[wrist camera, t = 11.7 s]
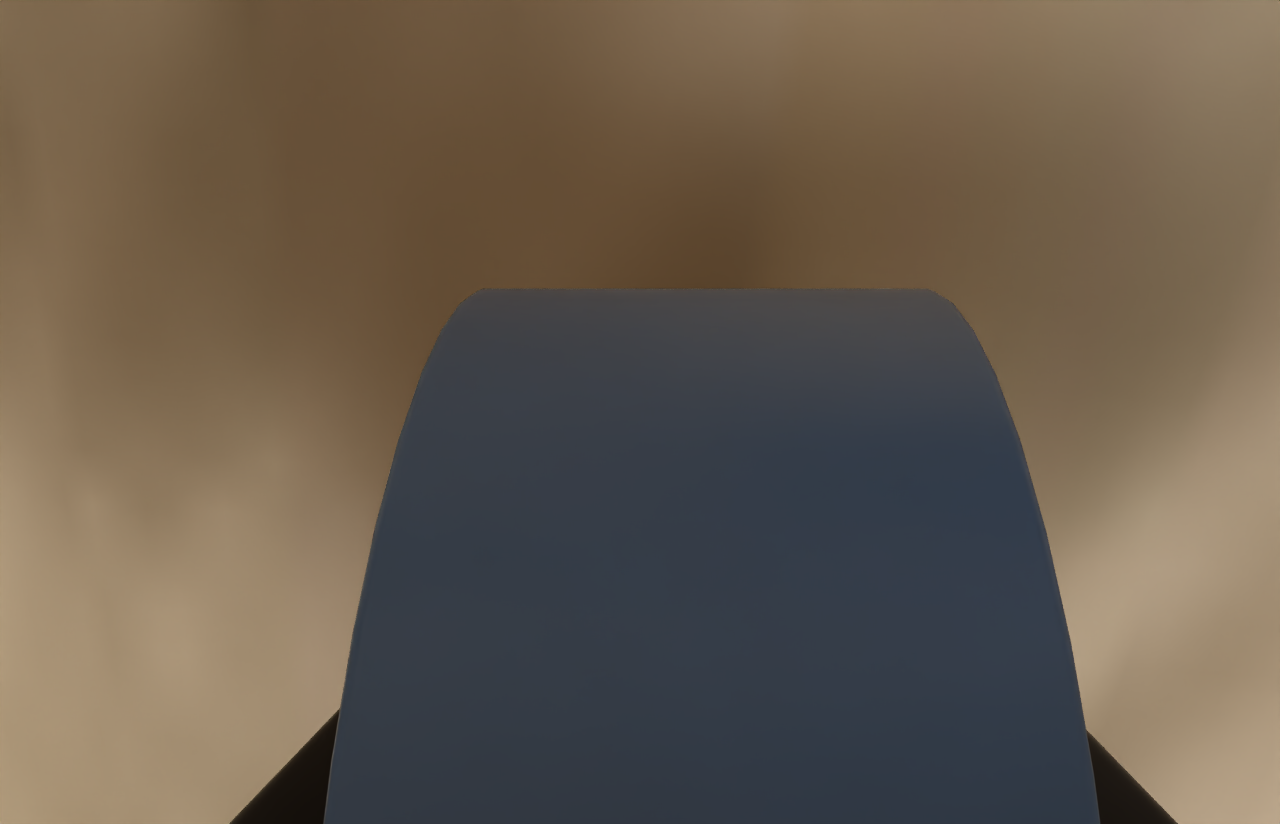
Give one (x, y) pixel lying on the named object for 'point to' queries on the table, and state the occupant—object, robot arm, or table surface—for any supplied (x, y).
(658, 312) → the disc
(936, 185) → the table surface
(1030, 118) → the table surface
